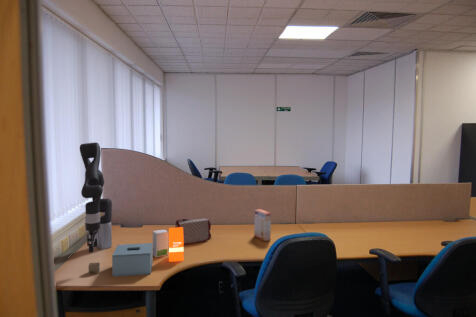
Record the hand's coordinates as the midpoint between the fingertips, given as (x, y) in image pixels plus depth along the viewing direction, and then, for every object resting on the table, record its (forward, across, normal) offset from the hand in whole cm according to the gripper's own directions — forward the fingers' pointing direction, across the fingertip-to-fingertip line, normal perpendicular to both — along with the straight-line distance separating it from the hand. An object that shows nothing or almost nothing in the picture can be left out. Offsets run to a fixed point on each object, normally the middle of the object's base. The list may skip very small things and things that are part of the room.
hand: (93, 249), depth 173 cm
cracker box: (+13, -42, +109) cm, 117 cm away
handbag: (+13, -43, +58) cm, 74 cm away
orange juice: (+13, -12, +45) cm, 49 cm away
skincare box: (+13, -20, +35) cm, 43 cm away
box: (+13, -1, +21) cm, 25 cm away
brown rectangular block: (+13, 0, 0) cm, 13 cm away
